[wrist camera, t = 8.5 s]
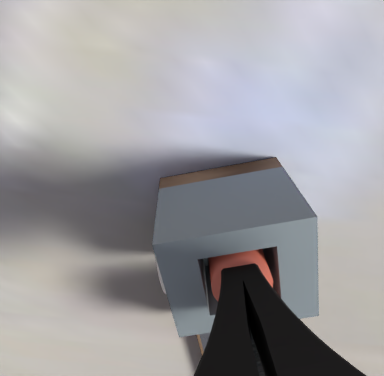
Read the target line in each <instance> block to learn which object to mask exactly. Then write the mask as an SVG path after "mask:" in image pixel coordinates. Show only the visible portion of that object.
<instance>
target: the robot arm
mask: <svg viewBox="0 0 384 376" xmlns="http://www.w3.org/2000/svg"><path fill="white" fill-rule="evenodd" d="M250 330H251V333H252V337H253V340H254V343H255V346H256V349H257V352H258V356H259V359H260V362H261V365H262V368H263V371H264V374H265V376H366V375H365V374H363V373H362V372H361V371H359V370H358V369H356V368H355V367H354V366H353V365H351V364H350V363H349V362H347V361H346V360H345V359H344V358H342V357H341V356H340V355H338V354H337V353H336V352H335V351H333V350H332V349H331V348H330V347H329V346H327V345H326V344H325V343H324V342H323V341H322V340H321V339H319V338H318V337H317V336H316V335H315V334H314V333H313V332H312V331H311V330H310V329H309V328H308V327H307V326H306V325H305V324H304V323H303V322H302V321H301V320H300V319H299V318H298V317H297V316H296V315H295V314H294V313H293V312H292V311H291V309H290V308H289V307H288V306H287V305H286V304H285V303H284V301H283V300H282V299H281V298H280V296H279V295H278V294H277V293H276V292H275V290H274V289H273V288H272V286H271V285H270V284H269V282H268V281H267V279H266V278H265V276H264V275H263V273H262V272H261V270H260V268H259V266H258V265H257V264H255V263H254V264H248V265H242V266H236V267H230V268H223V270H222V271H221V288H220V295H219V300H218V305H217V310H216V314H215V318H214V322H213V325H212V329H211V332H210V336H209V339H208V342H207V344H206V347H205V350H204V353H203V355H202V358H201V360H200V362H199V365H198V367H197V370H196V372H195V374H194V376H259V372H258V368H257V364H256V360H255V356H254V351H253V347H252V341H251V333H250Z"/></svg>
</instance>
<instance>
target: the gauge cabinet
mask: <svg viewBox="0 0 384 376" xmlns="http://www.w3.org/2000/svg"><path fill="white" fill-rule="evenodd" d="M152 246H153V250H154V253H155V258H156V266H157V272H158V276H159V281H160V284H161V287H162V290H163V292H164V293H165V294H167V297H168V301H169V304H170V307H171V311H172V314H173V318H174V321H175V324H176V328H177V331H178V335H179V337H185V336H191V335H198V334H204V333H210V332H211V329H212V325H213V322H214V318H215V314H216V310H217V305H218V301H217V300H216V299H215V297H214V296H213V293H212V288H211V280H210V271H209V263H208V258H210V257H216V256H222V255H228V254H233V253H239V252H245V251H251V250H257V249H262V250H263V253H264V256H265V259H266V261H267V264H268V267H269V270H270V273H271V275H272V278H273V289H274V290H275V292H276V293H277V294H278V295H279V296H280V298H281V299H282V300H283V301H284V303H285V304H286V305H287V306H288V307H289V308H290V309H291V311H292V312H293V313H294V314H295V315H296V316H297V317H298V318H299V319H301V318H307V317H314V316H319V301H318V229H317V216H316V214H315V213H314V211H313V210H312V208H311V207H310V205H309V204H308V203H307V201H306V200H305V198H304V197H303V195H302V194H301V193H300V191H299V190H298V188H297V187H296V185H295V184H294V182H293V181H292V180H291V178H290V177H289V175H288V174H287V172H286V171H285V169H284V168H283V167H278V168H272V169H266V170H261V171H255V172H250V173H244V174H239V175H233V176H228V177H222V178H216V179H211V180H205V181H200V182H194V183H189V184H183V185H177V186H172V187H166V188H161V189H159V193H158V201H157V209H156V217H155V226H154V234H153V242H152Z"/></svg>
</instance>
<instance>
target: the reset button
mask: <svg viewBox="0 0 384 376" xmlns="http://www.w3.org/2000/svg"><path fill="white" fill-rule="evenodd" d="M208 263H209V271H210V280H211V288H212V293H213V296H214V297H215V299H216V300H217V301H218V300H219V295H220V288H221V271H222V270H223V268H230V267H236V266H242V265H248V264H254V263H255V264H257V265H258V266H259V268H260V270H261V272H262V273H263V275H264V276H265V278H266V279H267V281H268V282H269V284H270V285H271V286H272V288H273V278H272V275H271V273H270V270H269V267H268V264H267V261H266V259H265V256H264V253H263V250H262V249H257V250H251V251H245V252H239V253H233V254H228V255H222V256H216V257H210V258H208Z"/></svg>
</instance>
